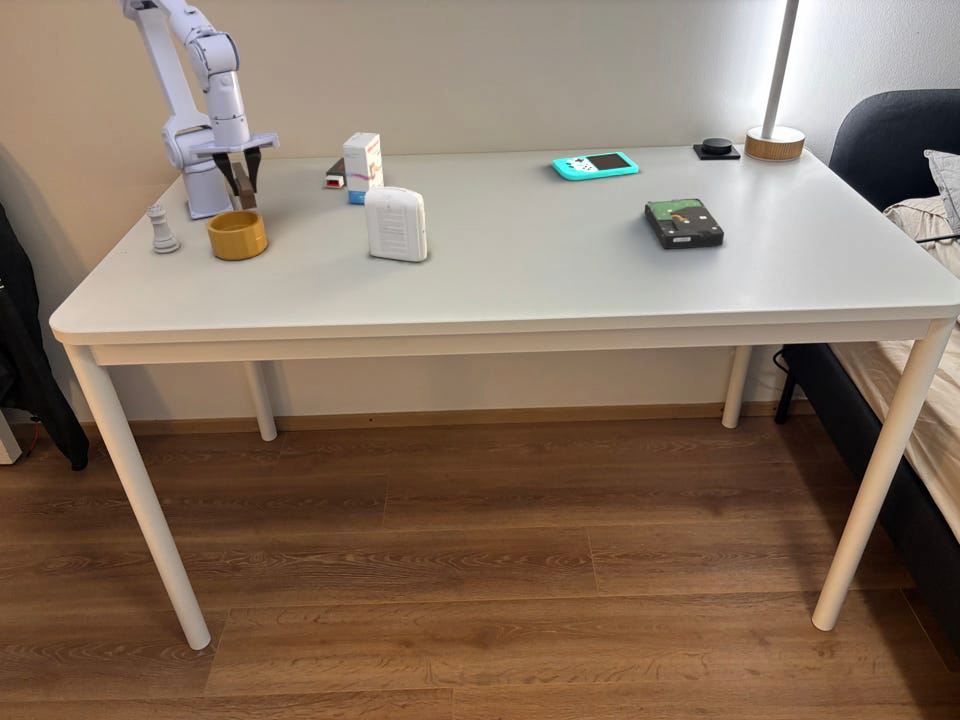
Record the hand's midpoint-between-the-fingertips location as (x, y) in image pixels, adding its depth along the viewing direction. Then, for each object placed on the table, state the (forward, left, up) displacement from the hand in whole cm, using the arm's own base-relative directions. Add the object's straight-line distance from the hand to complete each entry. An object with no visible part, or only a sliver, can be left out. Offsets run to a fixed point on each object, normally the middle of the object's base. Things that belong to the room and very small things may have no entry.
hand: (245, 192), depth 129 cm
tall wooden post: (0, 0, -2) cm, 2 cm away
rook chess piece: (-4, -15, -10) cm, 19 cm away
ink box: (-11, +24, -10) cm, 28 cm away
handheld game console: (-3, +72, -10) cm, 73 cm away
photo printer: (+17, +22, -10) cm, 29 cm away
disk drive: (+30, +71, -10) cm, 78 cm away
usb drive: (-23, +22, -10) cm, 33 cm away
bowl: (+2, -3, -9) cm, 10 cm away
